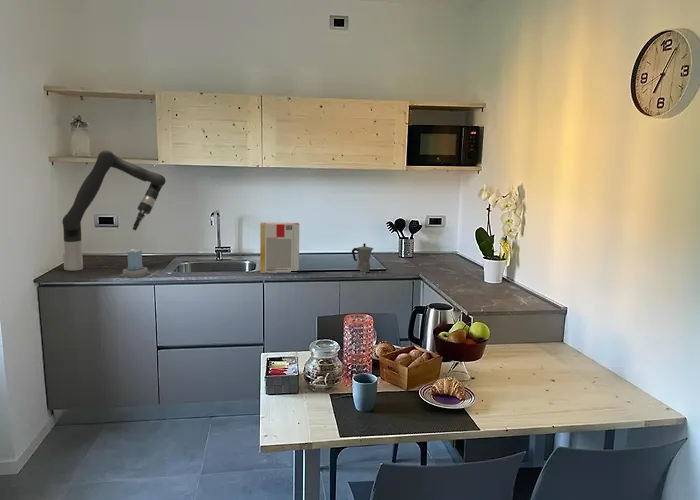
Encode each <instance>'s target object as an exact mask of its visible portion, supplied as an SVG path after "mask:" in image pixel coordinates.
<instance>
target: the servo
mask: <svg viewBox="0 0 700 500" xmlns="http://www.w3.org/2000/svg"><path fill="white" fill-rule="evenodd" d="M142 251H143V250H142V249H130V250H128V251H127V254H126V255H127V268H126V269H128V270H132V271H138V270H141V269H142V267H144V265H143V255H142V253H143V252H142Z"/></svg>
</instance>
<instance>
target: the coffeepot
mask: <svg viewBox="0 0 700 500" xmlns="http://www.w3.org/2000/svg"><path fill="white" fill-rule="evenodd" d="M366 245H367V244H366V242H365V243H363V245H362V246H359V247H353V248H352V250H351V254H352V257H353V258H352V259H353V260H354V262H357V265H356V270H360V271H369V270H371V265H370V263H371V262H370V259H371V255H372V252H373V250H374V247H370V246H366ZM355 252H357V258H356V254H355Z"/></svg>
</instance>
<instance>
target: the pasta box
mask: <svg viewBox="0 0 700 500" xmlns="http://www.w3.org/2000/svg"><path fill="white" fill-rule="evenodd" d="M259 226H260V237H259V238H260V247H259V248H260V250H259V251H260V254H259V255H260V256H259V257H260V261H259V262H260V263H259V265H260V266H259V267H260V268H259V269H260V271H259V272H261V273H265V272H291V271H297V270H299V271H300V223H299V222H260V225H259ZM261 273H260V274H261Z"/></svg>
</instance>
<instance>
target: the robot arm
mask: <svg viewBox="0 0 700 500" xmlns="http://www.w3.org/2000/svg"><path fill="white" fill-rule="evenodd" d="M110 168H113V169H117V170H119V171H121V172H123V173H126V174H128V175H129V176H132V177H134V178H135V179H138V180H140V181H143V182H145V183H146V182H148V183H150V184H149V186H148V189H147V190H146V192H145V194H144V196H143V197H142V199H141V200H140V203H139V204H138V207H137V208H136V209H137V210H138V211H139V212H138V213H137V214H136V215H137V216H136V218H135V222H134V223H133V224H132V225H133V227H132V230H133V231H137V230H138V227H139V226H140V225H141V223H142V222H143V220H145V216H146V215H150V214H151V212H152V210H153V209H154V206H155V202H156V201H157V199H158V197H159V193H160V192H161V190H162V188H163V186H164V185H165V184H166V178H165V177H164V176H163V175H162V174H160V173H157V172H154V171H150V170H147V169H145V168H143V167H140V166H138V165H136V164H133V163H131V162H129V161H126V160H124V159H122V158H120V157H119V156H117V155H115V154H114V153H113V152H112V151H110V150H108V149H107V150H106V149H105V150H102V151H100V152H99V154H98V155H97V158H96V162H95V163H94V166H93V168H92V169H91V171H90V172H89V174H88V175H87V176H86V178H85V179H84V180H83V181H82V184H81V185H80V187H79V189H78V191H77V194H76V195H75V199H74V201H73V204H72V205H71V207H70V209H69V211H68V212H67V213H66V214H65V215H64V217H63V218H62V227H63V248H64V253H63V269H64V271H70V272H71V271H72V272H73V271H80V270H83V269H84V264H83V263H84V262H83V244H82V220H83V216H84V214H85V213H86V211H87V210H88V208H89V206H90V205H91V204H92V202H93V201H94V199H95V198H96V196H97V194H98V193H99V191H100V189H101V186H102V184H103V182H104V178H105V176H106V174H107V173H108V172H109V170H110Z"/></svg>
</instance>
